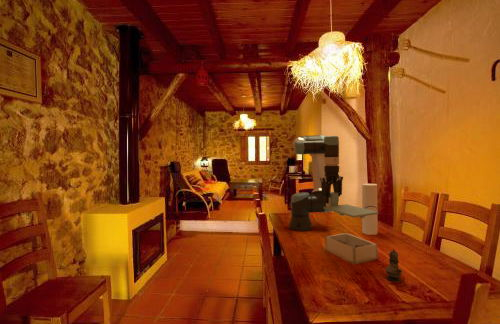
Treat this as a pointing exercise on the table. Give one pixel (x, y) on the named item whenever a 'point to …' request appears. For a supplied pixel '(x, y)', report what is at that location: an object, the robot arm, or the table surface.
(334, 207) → the lid
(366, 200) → the container
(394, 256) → the dark statuette
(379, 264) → the table surface
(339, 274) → the table surface
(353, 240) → the tub
